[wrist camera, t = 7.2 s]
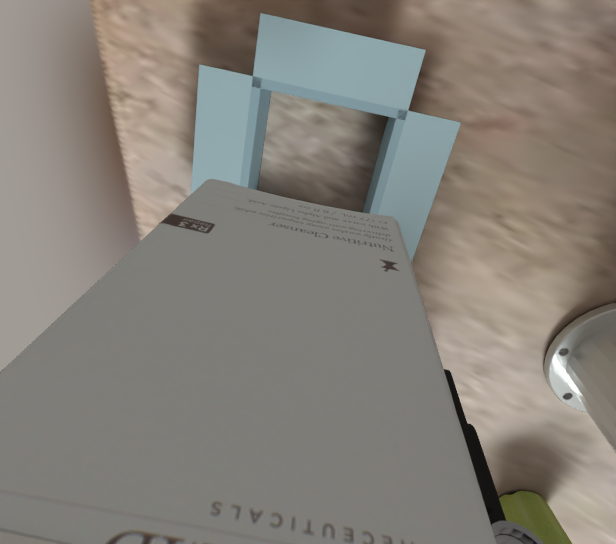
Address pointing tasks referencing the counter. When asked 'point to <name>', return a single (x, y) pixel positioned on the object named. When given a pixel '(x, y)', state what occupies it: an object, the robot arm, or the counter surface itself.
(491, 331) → the counter surface
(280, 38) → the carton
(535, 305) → the counter surface
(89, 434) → the skincare box
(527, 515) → the plant pot
